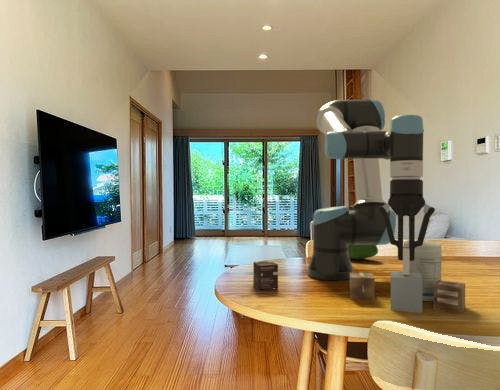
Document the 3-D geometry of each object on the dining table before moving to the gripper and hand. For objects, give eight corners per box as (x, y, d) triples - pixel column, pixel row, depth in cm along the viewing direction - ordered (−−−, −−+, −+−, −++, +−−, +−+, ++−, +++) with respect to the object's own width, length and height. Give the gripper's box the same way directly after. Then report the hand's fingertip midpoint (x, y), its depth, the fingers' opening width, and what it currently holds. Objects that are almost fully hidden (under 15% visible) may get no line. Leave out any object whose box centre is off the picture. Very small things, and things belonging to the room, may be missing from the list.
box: (258, 290, 106) (258, 265, 106) (253, 285, 112) (252, 261, 112) (278, 289, 108) (278, 264, 108) (271, 284, 114) (271, 260, 114)
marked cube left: (351, 302, 95) (351, 278, 95) (349, 293, 104) (349, 271, 103) (375, 303, 94) (375, 279, 94) (371, 294, 102) (371, 272, 102)
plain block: (390, 309, 89) (390, 277, 89) (391, 301, 96) (391, 271, 96) (422, 313, 87) (422, 279, 87) (420, 304, 93) (420, 273, 93)
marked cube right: (433, 309, 90) (433, 284, 90) (438, 303, 95) (438, 279, 95) (461, 314, 86) (461, 288, 86) (465, 307, 91) (465, 282, 91)
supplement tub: (396, 292, 104) (396, 240, 104) (427, 291, 105) (427, 240, 105) (414, 302, 95) (414, 246, 94) (449, 301, 96) (449, 245, 95)
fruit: (382, 260, 152) (382, 236, 152) (371, 263, 145) (371, 238, 144) (348, 255, 162) (348, 233, 162) (337, 258, 155) (337, 235, 155)
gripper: (377, 178, 90) (377, 274, 90) (437, 178, 85) (436, 279, 85) (379, 179, 97) (378, 268, 97) (434, 178, 92) (433, 272, 92)
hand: (405, 273), depth 91 cm, fingers closed
